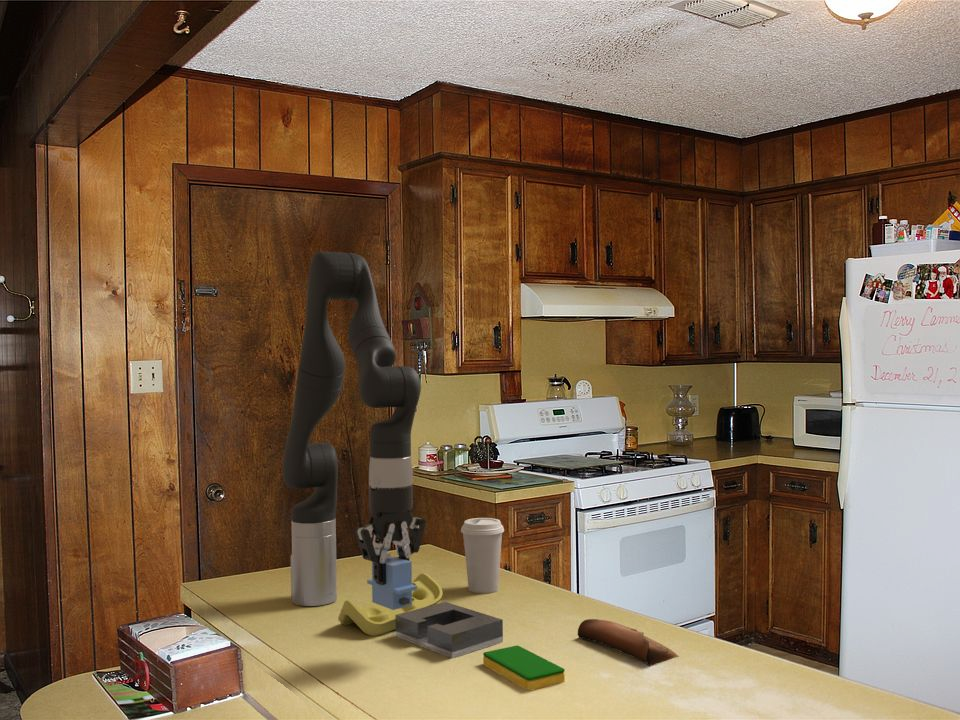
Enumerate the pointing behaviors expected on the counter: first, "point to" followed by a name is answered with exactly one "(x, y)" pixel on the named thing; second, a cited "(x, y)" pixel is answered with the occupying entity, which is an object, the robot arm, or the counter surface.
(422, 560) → the counter surface
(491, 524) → the coffee cup
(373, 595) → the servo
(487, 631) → the grey hollow block
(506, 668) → the dish sponge
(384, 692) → the counter surface
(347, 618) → the plastic component
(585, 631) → the sunglasses case
